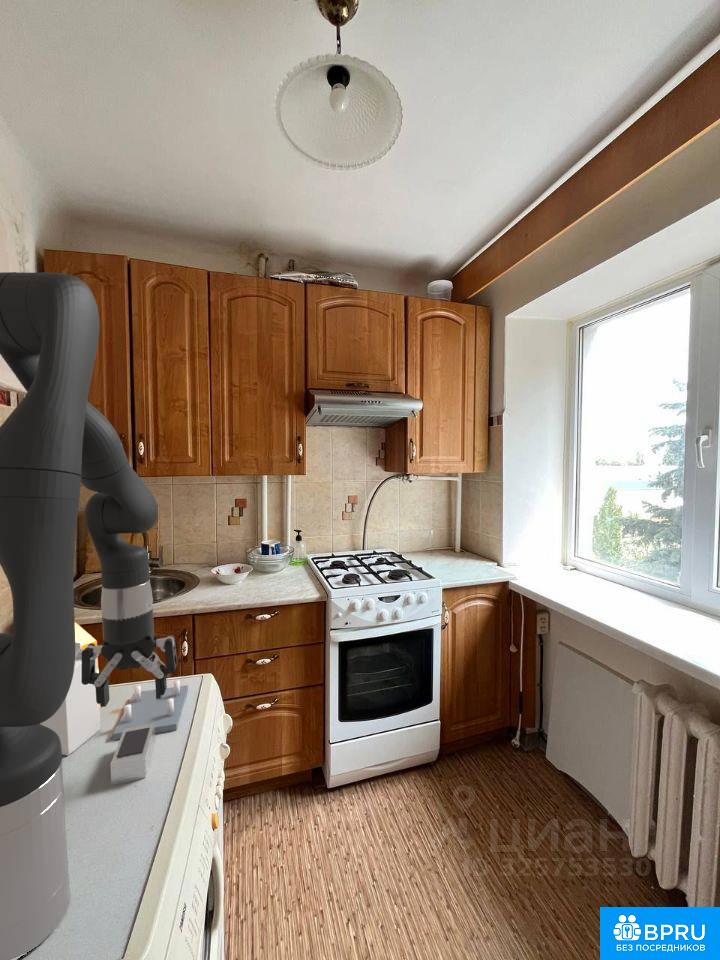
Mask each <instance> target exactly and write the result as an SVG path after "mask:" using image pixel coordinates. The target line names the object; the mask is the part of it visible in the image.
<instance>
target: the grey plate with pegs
mask: <svg viewBox="0 0 720 960" xmlns="http://www.w3.org/2000/svg"><path fill="white" fill-rule="evenodd" d="M180 684H181V680H180V679H177V680H174V681H173V686H171V687H167V688H166V691H165V693H164V695H162V697H161V699H156V689H151V690H150V689H149V690H144V691H142V685H140V684H138V685H135V686H134V687H133V691H134V692H133V694H132V696H131V698H130V700H129V702H128V704H125V705H124V706H123V713H122V715H121V717H120V719H119V720H118V723H117V725H116V727H115V729H114V731H113V733H112V740H113V741H117V740H120V738H121V736H122V733H123V731H124V729H127V728H133V727H138V726H143V725H149V724H154V723H155V734H160V733H167V732H172V731H177V730H178V727H179V723H180V721H181V717H182V712H183V709H184V707H185V703H186V698H187V696H188V692H189V685H188V684H186V685H180Z"/></svg>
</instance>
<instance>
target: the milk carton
mask: <svg viewBox="0 0 720 960" xmlns="http://www.w3.org/2000/svg"><path fill="white" fill-rule="evenodd" d="M82 646H83V645H81V643H79V642H75V666H74V673H73V678H72V682H71V686H70V689H69V691H68V694H67V696H66V698H65V700H64V702H63V703H62V705H61V707H60V708H59V709H58V710H57V712H56V713H55V714H54V715H53V716H52V717H51V718H49V719H48V720H46V721H44V722H42V723H40V724H41V725H43V726H45V727H48V728H50V729H51V730H53V731H54V732H55V733H56V734H57V735H58V736H59V738H60V742H61V751H62V756H70V755H71V754H72V753H73V752H75V751H76V750H77V749H78V748H80V747H81V746H82V745H83V744H85V743H86V742H87V741H88V740H90V739H91V738H93V736H95V735H96V734H97V733H98V732H100V731H101V706H100V707H99V704H98V703H97V702H96V688H95V686H94V685H93V684H87V685H83V684H82V682H81V678H82V651H83V649H81V648H82ZM98 669H99V665H98V666H97V658H96V659H95V673H98Z"/></svg>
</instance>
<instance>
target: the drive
mask: <svg viewBox="0 0 720 960" xmlns="http://www.w3.org/2000/svg"><path fill="white" fill-rule="evenodd" d="M155 744H156V733H155V723H154V724H149V725H143V726H138V727H133V728H127V729H124V731H123V733H122V736H121V738H120V739H119V740H118V743H117V746H116V748H115V749H116V750H115V751H114V754H113V757H112V759H111V762H110V782H111V783H110V785H111V786H115V785H120V784H124V783H127V782H128V783H129V782H133V781H138V780H142V779H146V778H147V776H148V771H149V767H150V763H151V760H152V756H153V752H154V750H155V749H154V748H155Z"/></svg>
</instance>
